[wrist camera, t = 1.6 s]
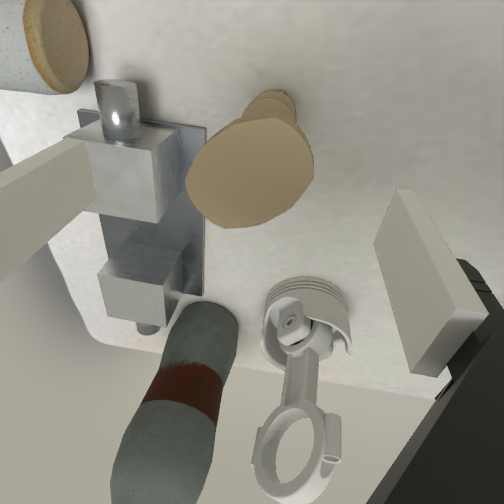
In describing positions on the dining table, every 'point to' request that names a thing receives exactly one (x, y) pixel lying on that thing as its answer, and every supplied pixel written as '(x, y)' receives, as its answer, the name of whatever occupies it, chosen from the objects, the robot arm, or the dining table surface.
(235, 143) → the handle
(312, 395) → the engine component
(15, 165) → the robot arm
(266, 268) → the dining table surface
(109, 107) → the shaft bed
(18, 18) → the ceramic mug
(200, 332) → the bottle
